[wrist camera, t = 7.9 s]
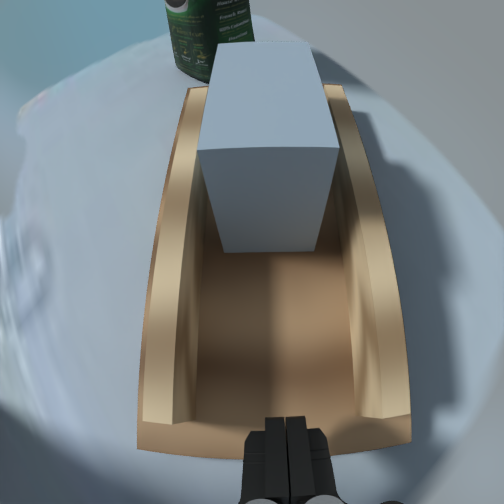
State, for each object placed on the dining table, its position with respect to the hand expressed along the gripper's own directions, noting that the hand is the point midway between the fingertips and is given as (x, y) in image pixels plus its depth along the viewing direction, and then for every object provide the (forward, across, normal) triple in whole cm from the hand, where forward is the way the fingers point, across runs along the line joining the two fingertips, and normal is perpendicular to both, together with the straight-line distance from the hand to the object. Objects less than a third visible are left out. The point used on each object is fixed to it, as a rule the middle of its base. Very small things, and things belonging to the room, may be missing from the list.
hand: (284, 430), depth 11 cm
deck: (+13, 0, +4) cm, 14 cm away
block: (+12, 0, +8) cm, 14 cm away
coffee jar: (+30, -6, +21) cm, 37 cm away
